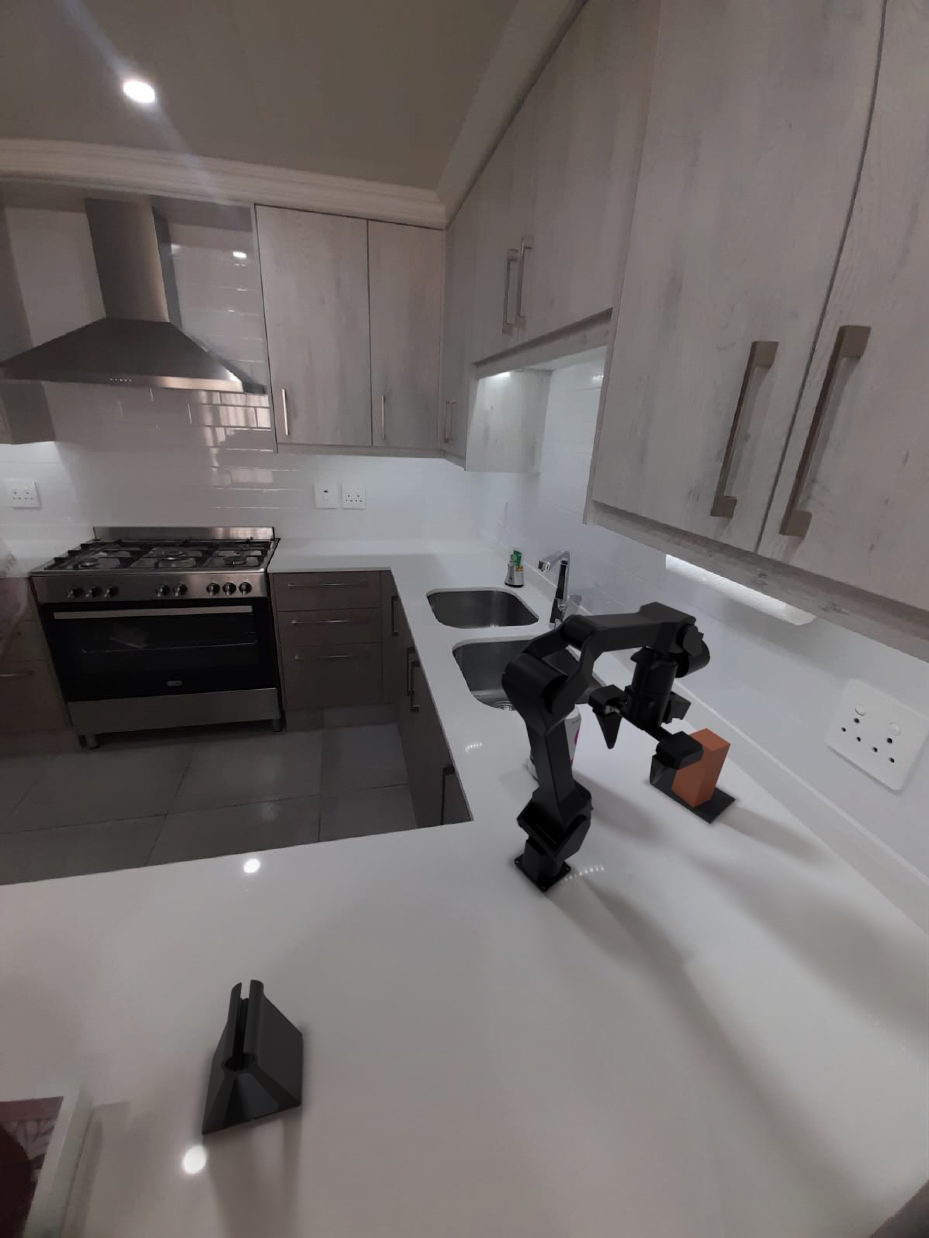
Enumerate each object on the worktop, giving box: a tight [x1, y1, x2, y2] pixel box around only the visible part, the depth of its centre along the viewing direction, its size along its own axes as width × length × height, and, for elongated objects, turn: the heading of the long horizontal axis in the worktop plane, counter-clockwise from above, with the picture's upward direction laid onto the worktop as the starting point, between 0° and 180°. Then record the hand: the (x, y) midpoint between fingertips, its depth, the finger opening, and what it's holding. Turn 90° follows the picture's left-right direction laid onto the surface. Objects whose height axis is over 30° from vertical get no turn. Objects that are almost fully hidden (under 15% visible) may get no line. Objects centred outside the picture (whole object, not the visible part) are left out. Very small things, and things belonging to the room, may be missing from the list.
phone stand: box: [200, 979, 303, 1136], centre depth 47 cm, size 9×6×12 cm, turn 105°
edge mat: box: [650, 768, 736, 824], centre depth 93 cm, size 10×12×1 cm
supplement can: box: [527, 703, 582, 781], centre depth 92 cm, size 8×8×15 cm
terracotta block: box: [671, 727, 732, 808], centre depth 89 cm, size 5×5×13 cm
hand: (630, 764), depth 80 cm, fingers open, 9 cm apart
